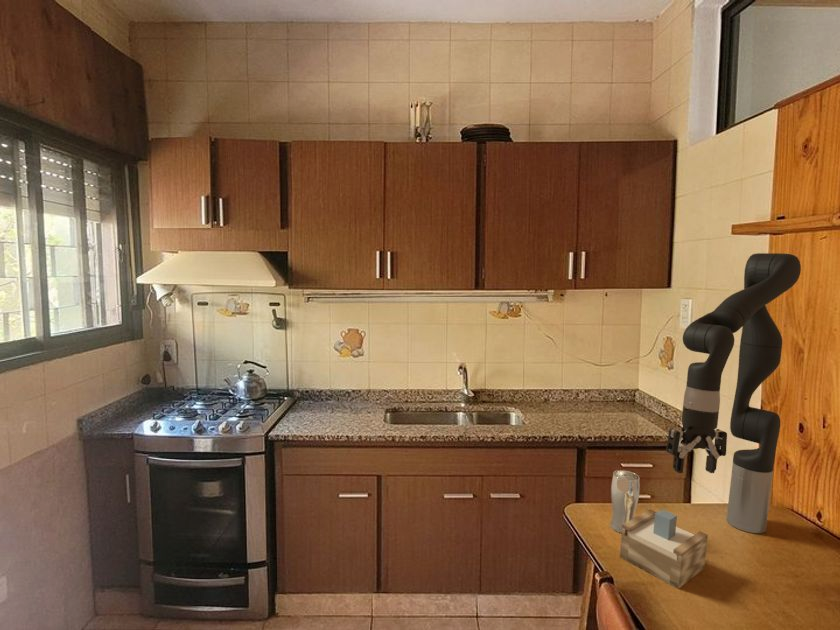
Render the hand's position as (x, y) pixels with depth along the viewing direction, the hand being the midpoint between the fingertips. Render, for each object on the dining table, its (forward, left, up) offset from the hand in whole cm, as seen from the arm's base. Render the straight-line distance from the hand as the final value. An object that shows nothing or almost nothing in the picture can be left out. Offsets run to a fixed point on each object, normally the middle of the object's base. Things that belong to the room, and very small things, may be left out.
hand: (693, 471), depth 118 cm
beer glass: (+2, -16, -22) cm, 27 cm away
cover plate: (+8, -2, -16) cm, 18 cm away
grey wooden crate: (+8, -2, -22) cm, 23 cm away
